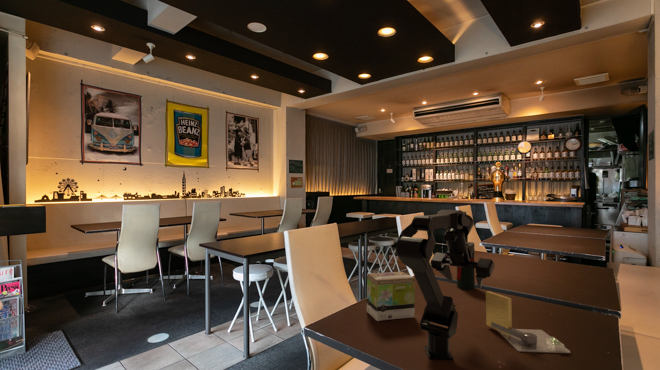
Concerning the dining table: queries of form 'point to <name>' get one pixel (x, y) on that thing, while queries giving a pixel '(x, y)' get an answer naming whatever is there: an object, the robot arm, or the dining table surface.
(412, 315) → the tea box
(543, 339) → the plate
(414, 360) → the dining table surface
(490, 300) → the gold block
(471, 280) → the wine bottle
